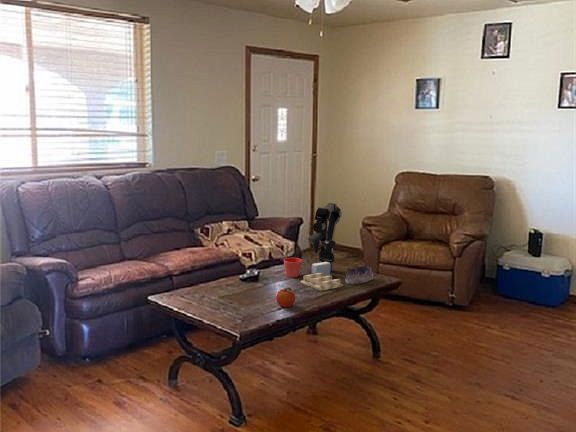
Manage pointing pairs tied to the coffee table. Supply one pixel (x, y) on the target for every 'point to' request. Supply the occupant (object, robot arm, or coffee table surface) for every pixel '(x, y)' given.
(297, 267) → the flower pot
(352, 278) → the geode
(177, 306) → the coffee table surface
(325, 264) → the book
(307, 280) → the rack
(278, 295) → the fruit
